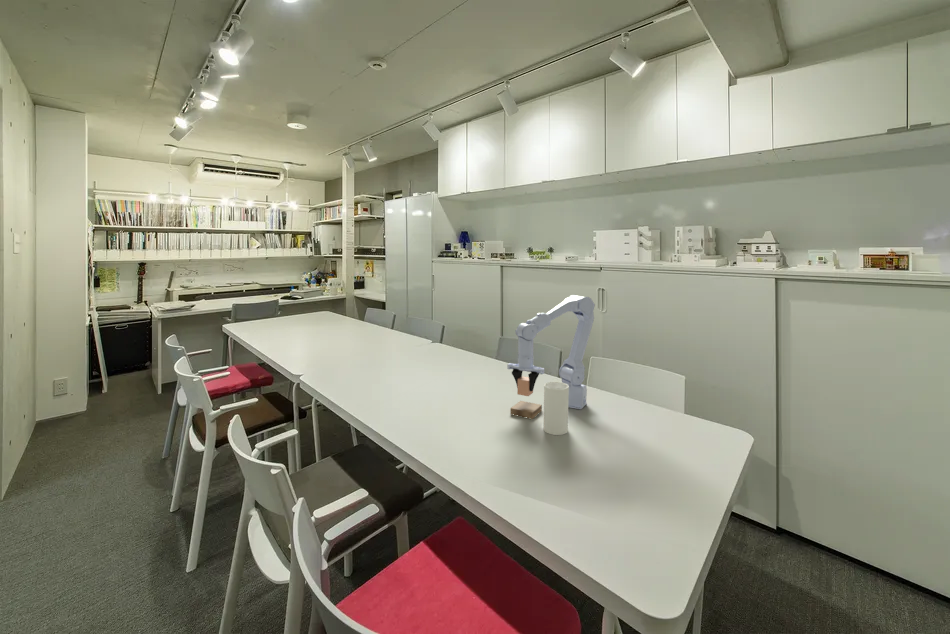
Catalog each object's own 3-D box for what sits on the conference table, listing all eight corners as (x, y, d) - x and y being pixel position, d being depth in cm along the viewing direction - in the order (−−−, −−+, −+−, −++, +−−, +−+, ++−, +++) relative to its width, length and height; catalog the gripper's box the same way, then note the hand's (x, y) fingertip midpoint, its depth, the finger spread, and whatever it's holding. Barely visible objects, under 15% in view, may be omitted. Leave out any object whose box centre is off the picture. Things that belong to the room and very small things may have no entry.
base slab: (541, 412, 157) (541, 404, 156) (532, 420, 149) (532, 412, 149) (520, 407, 161) (520, 400, 161) (510, 415, 154) (510, 408, 153)
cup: (564, 424, 144) (565, 381, 141) (570, 434, 136) (571, 389, 133) (541, 425, 144) (542, 381, 141) (546, 435, 136) (547, 389, 133)
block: (533, 392, 156) (533, 377, 155) (528, 396, 152) (528, 381, 151) (522, 390, 158) (522, 376, 157) (517, 394, 154) (517, 379, 153)
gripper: (503, 354, 153) (503, 389, 155) (539, 359, 146) (538, 395, 148) (512, 351, 159) (511, 384, 161) (546, 355, 152) (546, 390, 154)
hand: (525, 389), depth 155 cm, fingers closed on block, 4 cm apart
